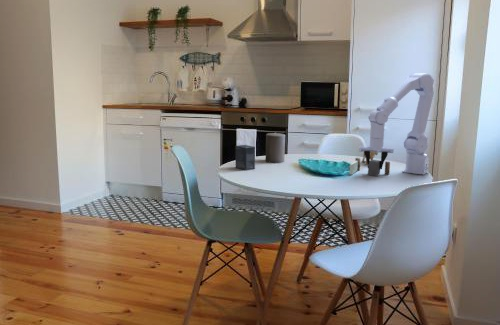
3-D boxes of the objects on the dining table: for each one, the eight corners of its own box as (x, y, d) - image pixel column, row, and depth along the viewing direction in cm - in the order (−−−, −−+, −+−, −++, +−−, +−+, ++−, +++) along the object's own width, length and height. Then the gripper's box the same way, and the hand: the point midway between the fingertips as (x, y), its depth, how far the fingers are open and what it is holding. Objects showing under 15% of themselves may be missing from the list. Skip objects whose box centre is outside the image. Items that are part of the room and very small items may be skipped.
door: (351, 174, 206) (352, 164, 205) (347, 174, 207) (347, 164, 206) (357, 170, 215) (357, 160, 214) (352, 170, 216) (353, 160, 215)
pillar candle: (263, 162, 234) (263, 132, 231) (268, 158, 243) (268, 130, 240) (282, 163, 231) (283, 133, 229) (286, 160, 241) (287, 131, 238)
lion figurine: (378, 165, 228) (380, 147, 226) (368, 166, 227) (369, 147, 225) (367, 160, 242) (368, 143, 240) (357, 160, 241) (358, 143, 240)
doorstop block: (379, 173, 209) (381, 160, 208) (376, 176, 205) (378, 162, 203) (370, 172, 211) (372, 159, 210) (367, 174, 207) (369, 161, 205)
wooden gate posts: (390, 174, 209) (390, 161, 208) (388, 174, 207) (389, 162, 206) (356, 169, 219) (356, 157, 217) (354, 170, 217) (354, 158, 216)
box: (255, 169, 218) (255, 146, 216) (245, 170, 214) (245, 147, 212) (244, 166, 224) (244, 144, 222) (235, 167, 220) (235, 145, 218)
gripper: (393, 137, 207) (391, 167, 210) (359, 136, 210) (358, 165, 213) (394, 139, 200) (392, 170, 203) (359, 138, 204) (358, 168, 206)
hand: (374, 168), depth 208 cm, fingers closed on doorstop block, 4 cm apart
